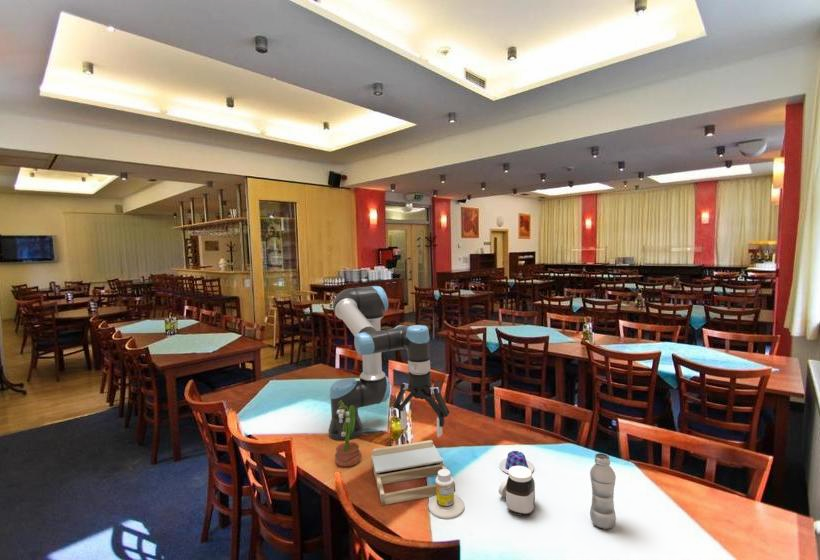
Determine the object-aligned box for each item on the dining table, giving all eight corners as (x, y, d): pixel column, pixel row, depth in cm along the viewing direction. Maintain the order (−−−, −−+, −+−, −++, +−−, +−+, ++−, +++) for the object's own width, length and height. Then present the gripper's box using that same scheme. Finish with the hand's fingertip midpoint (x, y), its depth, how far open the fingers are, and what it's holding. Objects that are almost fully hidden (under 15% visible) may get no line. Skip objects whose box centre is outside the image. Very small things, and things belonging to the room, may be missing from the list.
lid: (371, 455, 151) (370, 449, 151) (433, 445, 157) (433, 439, 156) (375, 473, 139) (375, 466, 139) (443, 461, 144) (442, 455, 144)
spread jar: (529, 522, 116) (528, 483, 115) (491, 510, 122) (490, 473, 121) (539, 499, 126) (538, 463, 125) (504, 489, 132) (503, 455, 131)
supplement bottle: (439, 497, 128) (438, 466, 127) (456, 500, 126) (455, 468, 125) (434, 507, 123) (432, 475, 122) (451, 511, 121) (450, 478, 120)
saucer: (424, 499, 129) (424, 496, 129) (457, 493, 131) (457, 490, 131) (434, 522, 118) (434, 518, 118) (469, 515, 120) (469, 511, 120)
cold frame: (371, 463, 152) (371, 456, 152) (433, 453, 157) (433, 446, 157) (381, 505, 127) (381, 496, 127) (455, 491, 132) (454, 483, 132)
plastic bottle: (585, 518, 116) (584, 451, 115) (607, 515, 117) (607, 449, 116) (597, 533, 110) (596, 463, 109) (621, 531, 111) (620, 461, 109)
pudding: (541, 471, 142) (541, 457, 141) (514, 481, 137) (513, 466, 136) (518, 456, 153) (518, 443, 152) (492, 465, 148) (492, 451, 147)
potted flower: (354, 472, 147) (350, 405, 145) (329, 470, 149) (324, 405, 147) (364, 455, 158) (361, 393, 157) (341, 454, 160) (337, 393, 159)
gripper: (381, 370, 138) (384, 429, 141) (449, 379, 127) (451, 443, 129) (392, 364, 145) (395, 420, 147) (457, 372, 134) (459, 433, 136)
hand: (421, 431), depth 138 cm, fingers open, 13 cm apart
